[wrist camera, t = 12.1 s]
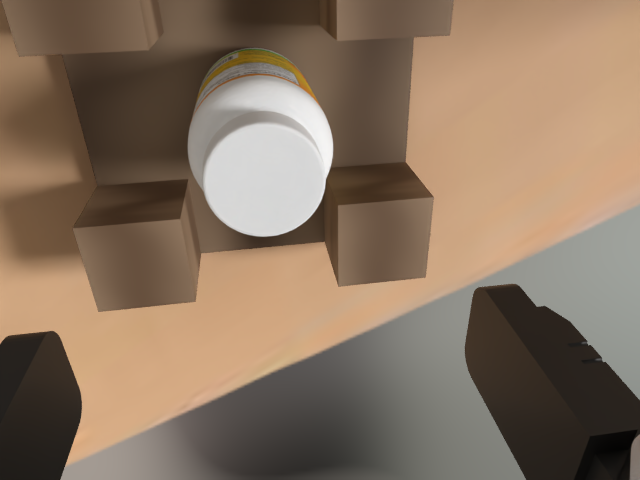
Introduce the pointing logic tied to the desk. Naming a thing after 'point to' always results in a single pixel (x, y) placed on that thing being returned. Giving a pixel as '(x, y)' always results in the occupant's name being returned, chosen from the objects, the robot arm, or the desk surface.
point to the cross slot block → (177, 111)
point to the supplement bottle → (259, 143)
